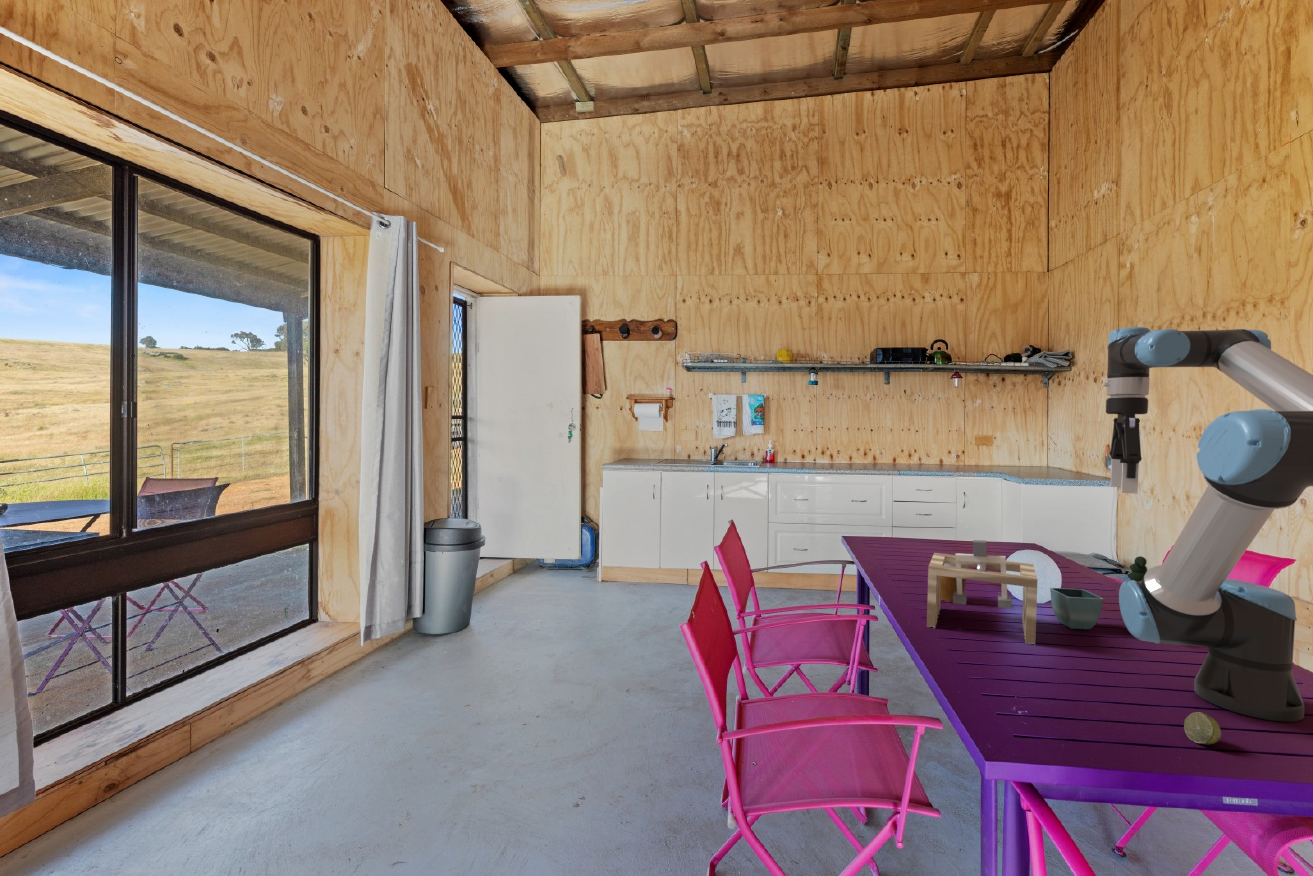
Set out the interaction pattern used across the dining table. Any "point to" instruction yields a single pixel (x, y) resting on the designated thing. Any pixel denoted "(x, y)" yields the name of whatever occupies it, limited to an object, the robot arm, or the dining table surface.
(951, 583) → the disposable coffee cup
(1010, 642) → the dining table surface
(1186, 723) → the lime
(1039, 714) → the dining table surface
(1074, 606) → the flower pot
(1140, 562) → the dark green tiered figure
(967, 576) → the beige wooden frame
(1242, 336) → the robot arm
